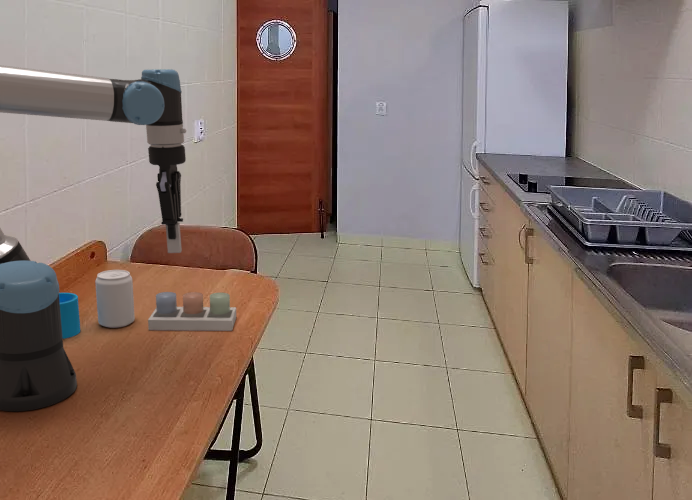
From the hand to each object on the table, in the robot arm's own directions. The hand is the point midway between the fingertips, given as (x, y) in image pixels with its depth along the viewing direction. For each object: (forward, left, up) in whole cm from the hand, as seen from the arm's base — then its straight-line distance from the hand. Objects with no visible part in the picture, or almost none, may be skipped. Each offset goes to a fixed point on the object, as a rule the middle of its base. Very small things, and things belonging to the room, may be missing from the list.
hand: (174, 251), depth 145 cm
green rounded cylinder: (+9, -5, -16) cm, 19 cm away
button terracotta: (+6, 0, -16) cm, 17 cm away
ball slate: (+3, +6, -16) cm, 17 cm away
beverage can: (-3, +16, -19) cm, 25 cm away
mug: (-12, +23, -19) cm, 32 cm away
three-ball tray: (+6, 0, -19) cm, 20 cm away
